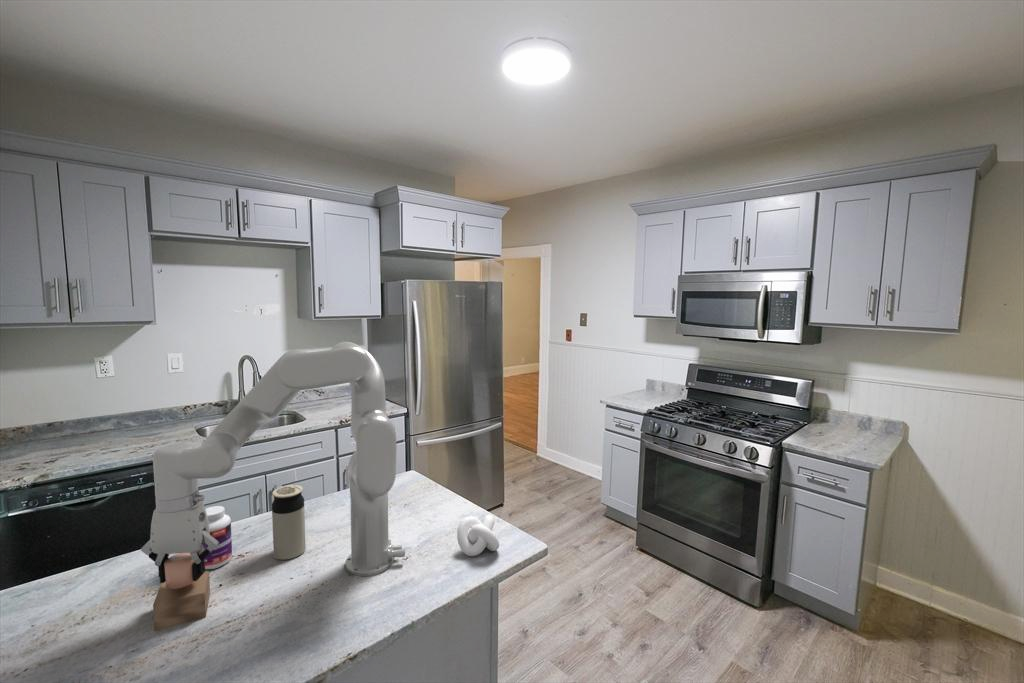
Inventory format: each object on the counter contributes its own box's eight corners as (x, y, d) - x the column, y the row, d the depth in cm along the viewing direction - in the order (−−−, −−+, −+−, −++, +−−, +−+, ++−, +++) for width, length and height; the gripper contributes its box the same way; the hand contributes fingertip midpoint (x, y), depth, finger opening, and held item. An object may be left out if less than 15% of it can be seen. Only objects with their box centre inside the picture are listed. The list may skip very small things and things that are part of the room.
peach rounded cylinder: (204, 571, 104) (203, 550, 103) (189, 587, 98) (187, 566, 97) (176, 572, 103) (175, 552, 102) (159, 589, 97) (157, 568, 97)
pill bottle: (214, 573, 115) (211, 519, 113) (188, 569, 116) (185, 516, 115) (239, 556, 123) (237, 505, 121) (214, 552, 124) (212, 502, 123)
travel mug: (278, 564, 119) (275, 499, 117) (270, 551, 125) (268, 489, 123) (309, 553, 124) (307, 491, 123) (300, 541, 130) (298, 481, 128)
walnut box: (210, 594, 107) (208, 570, 107) (205, 618, 99) (204, 592, 99) (163, 606, 103) (161, 581, 102) (154, 631, 95) (153, 605, 94)
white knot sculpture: (510, 548, 128) (510, 519, 127) (481, 567, 119) (481, 535, 118) (481, 535, 135) (481, 506, 134) (452, 552, 126) (452, 521, 125)
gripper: (228, 492, 103) (232, 566, 105) (146, 495, 101) (151, 570, 103) (210, 507, 96) (214, 586, 98) (122, 510, 94) (128, 591, 96)
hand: (182, 577), depth 100 cm, fingers closed on peach rounded cylinder, 6 cm apart
